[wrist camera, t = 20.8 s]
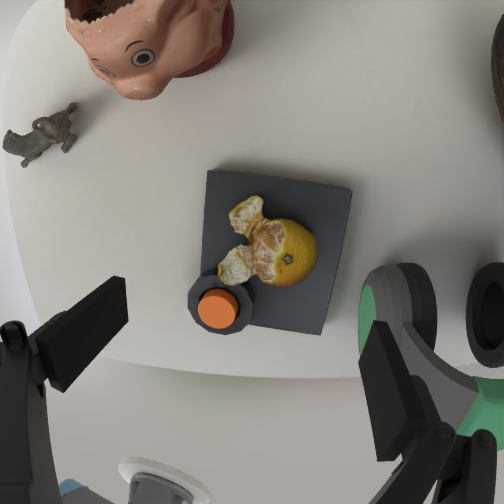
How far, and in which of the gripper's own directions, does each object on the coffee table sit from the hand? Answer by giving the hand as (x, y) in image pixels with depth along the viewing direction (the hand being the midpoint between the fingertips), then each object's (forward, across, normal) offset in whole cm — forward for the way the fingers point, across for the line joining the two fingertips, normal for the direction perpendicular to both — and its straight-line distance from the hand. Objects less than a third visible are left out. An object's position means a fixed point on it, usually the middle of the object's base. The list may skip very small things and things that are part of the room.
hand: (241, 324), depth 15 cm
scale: (+16, 0, -1) cm, 16 cm away
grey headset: (+16, +19, -3) cm, 25 cm away
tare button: (+13, -4, -6) cm, 15 cm away
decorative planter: (+16, -11, +22) cm, 29 cm away
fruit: (+13, 0, 0) cm, 13 cm away
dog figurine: (+16, -28, +10) cm, 33 cm away
